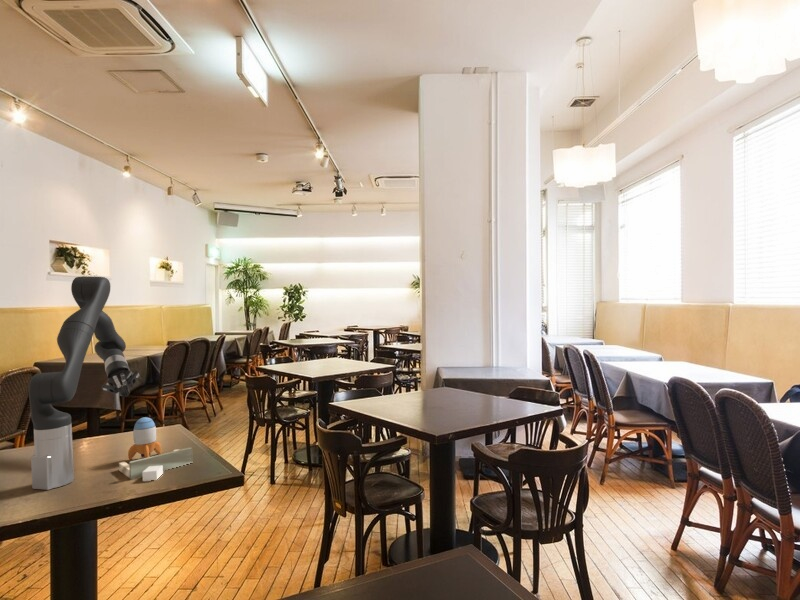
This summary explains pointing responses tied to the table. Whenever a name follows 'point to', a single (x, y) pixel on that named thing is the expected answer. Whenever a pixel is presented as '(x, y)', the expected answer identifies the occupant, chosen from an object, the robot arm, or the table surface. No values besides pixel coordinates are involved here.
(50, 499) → the table surface
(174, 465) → the cradle
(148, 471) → the fin block
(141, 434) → the toy rocket
